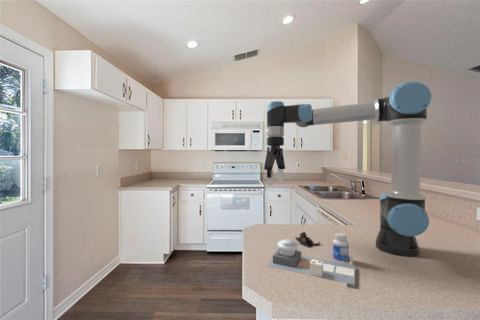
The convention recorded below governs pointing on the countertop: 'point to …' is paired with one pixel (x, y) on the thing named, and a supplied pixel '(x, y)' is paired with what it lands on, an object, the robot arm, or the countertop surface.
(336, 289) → the countertop surface
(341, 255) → the pill bottle
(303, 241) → the stuffed animal
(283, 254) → the pop dome
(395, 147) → the robot arm
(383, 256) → the countertop surface
